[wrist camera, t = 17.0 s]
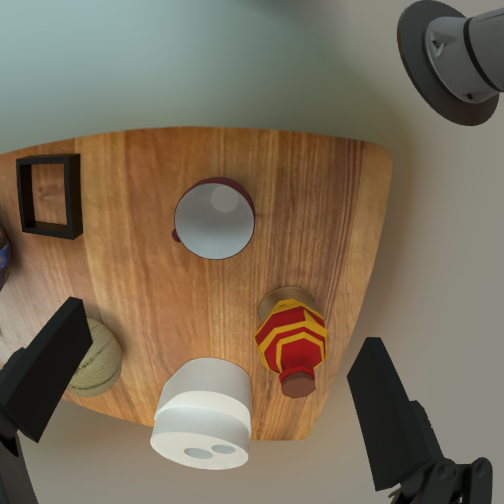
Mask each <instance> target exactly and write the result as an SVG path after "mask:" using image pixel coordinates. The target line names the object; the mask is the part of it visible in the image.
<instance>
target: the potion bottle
mask: <svg viewBox="0 0 504 504" xmlns="http://www.w3.org/2000/svg"><path fill="white" fill-rule="evenodd" d="M303 306H304V307H305V308H304V307H303ZM306 308H307V309H306ZM254 340H255V343H256V346H257V349H258V352H259V356H260V359H261V362H262V365H263V366H265V367H266V368H267V369H268V370H270V371H272V372H274V373H277V374H279V375H280V376H279V379H280V383H281V389H282V393H283V395H285V396H288V397H291V398H300V397H305V396H308V395H309V394H310V393H312V392H313V391H314V390H315V381H314V380H315V375H314V369H315V368H316V367H317V366H318V365H319V364H321V363H322V362H323V361H324V360H325V359H326V358H327V353H328V330H326V329H325V323H324V319H323V317H322V316H321V314H319V313H318V312H316V311H315V310H313V309H312V308H310V307H308V306H307V305H305V304H304V303H302V302H298V301H296V300H294V299H288V300H282V301H279V302H278V303H277V304H276V305H275V307H274V308H273V309H272V310H271V312H270V313H269V315H268V316H267V318H266V319H265V320H264V321H263V322H262V324H261V325H260V326H259V327H258V330H257V331H256V333H255V334H254ZM257 341H258V342H257ZM258 345H259V346H258Z"/></svg>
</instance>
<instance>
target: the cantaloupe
mask: <svg viewBox="0 0 504 504" xmlns="http://www.w3.org/2000/svg"><path fill="white" fill-rule="evenodd" d="M87 321H88V325H89V329H90V332H91V336H92V339H93V344H92V346H91V347H90V349H89V350H88V352H87V354H86V355H85V357H84V359H83V360H82V362H81V364H80V365H79V367H78V369H77V370H76V372H75V374H74V376H73V377H72V379H71V381H70V383H69V384H68V386H67V388H66V389H67V390H69V391H70V392H72V393H73V394H76V395H79V396H85V397H91V396H98V395H101V394H103V393H104V392H106V391H108V390H109V389H110V388H111V387H112V386H113V385H114V384H115V383H116V381H117V380H118V378H119V376H120V373H121V370H122V352H121V348H120V346H119V343H118V341H117V339H116V338H115V337H114V335H113V334H112V333H111V331H110V330H109V329H108V328H106V327H105V326H104V325H103V324H102V323H100V322H98V321H96V320H94V319H92V318H88V317H87Z"/></svg>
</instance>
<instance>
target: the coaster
mask: <svg viewBox="0 0 504 504" xmlns="http://www.w3.org/2000/svg"><path fill="white" fill-rule="evenodd" d="M288 299H294V300H296V301H298V302H302V303H304V304H305V305H307V306H308V307H310V308H312V309H313V310H315V311H316V305H315V302H314V299H313V298H312V296H311V295H310V294H309V293H308V292H307V291H305V290H303V289H301V288H298V287H292V286H287V287H280V288H277V289H275V290H273V291H271V292H269V293H268V294H267V295H266V296H265V297H264V298H263V299H262V301H261V303H260V305H259V319H260V321H261V323H262V322H263V321H264V320H265V319H266V318H267V316H268V315H269V313H270V312H271V310H272V309H273V308H274V307H275V305H276V304H277V303H278V302H279V301H282V300H288ZM303 307H304V306H303ZM304 308H305V307H304ZM306 309H307V308H306Z"/></svg>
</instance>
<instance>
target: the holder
mask: <svg viewBox="0 0 504 504" xmlns="http://www.w3.org/2000/svg"><path fill="white" fill-rule="evenodd" d="M52 163H64V186H65V204H66V217H67V225H61V224H53V223H45V222H36V221H35V216H34V207H33V196H32V181H31V164H52ZM16 172H17V189H18V201H19V210H20V218H21V225H22V232H25V233H32V234H38V235H45V236H51V237H58V238H64V239H71V240H74V239H75V238H77V237H78V236H79V235H81V234H82V233H83V225H82V212H81V192H80V154H55V155H39V156H27V157H23V158H20V159H16Z"/></svg>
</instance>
